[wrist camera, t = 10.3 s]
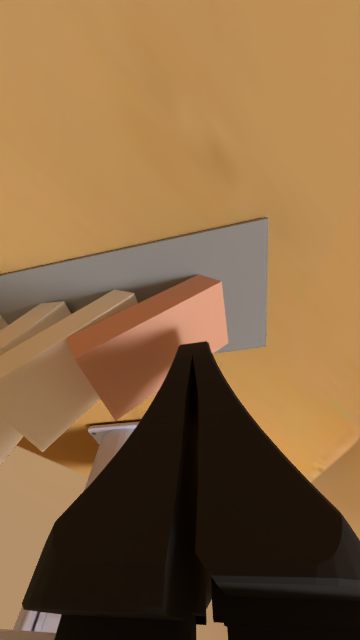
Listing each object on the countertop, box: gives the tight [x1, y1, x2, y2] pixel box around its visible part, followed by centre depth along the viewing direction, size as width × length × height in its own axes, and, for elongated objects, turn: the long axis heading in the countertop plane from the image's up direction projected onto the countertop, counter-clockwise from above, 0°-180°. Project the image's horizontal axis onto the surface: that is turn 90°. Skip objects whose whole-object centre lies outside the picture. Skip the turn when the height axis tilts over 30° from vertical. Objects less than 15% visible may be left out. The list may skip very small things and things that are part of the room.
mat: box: [0, 217, 268, 353], centre depth 15 cm, size 9×27×1 cm, turn 102°
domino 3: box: [67, 275, 228, 421], centre depth 12 cm, size 4×2×8 cm
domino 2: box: [0, 289, 138, 452], centre depth 12 cm, size 4×2×8 cm
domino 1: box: [0, 301, 71, 465], centre depth 12 cm, size 4×2×8 cm, turn 12°
